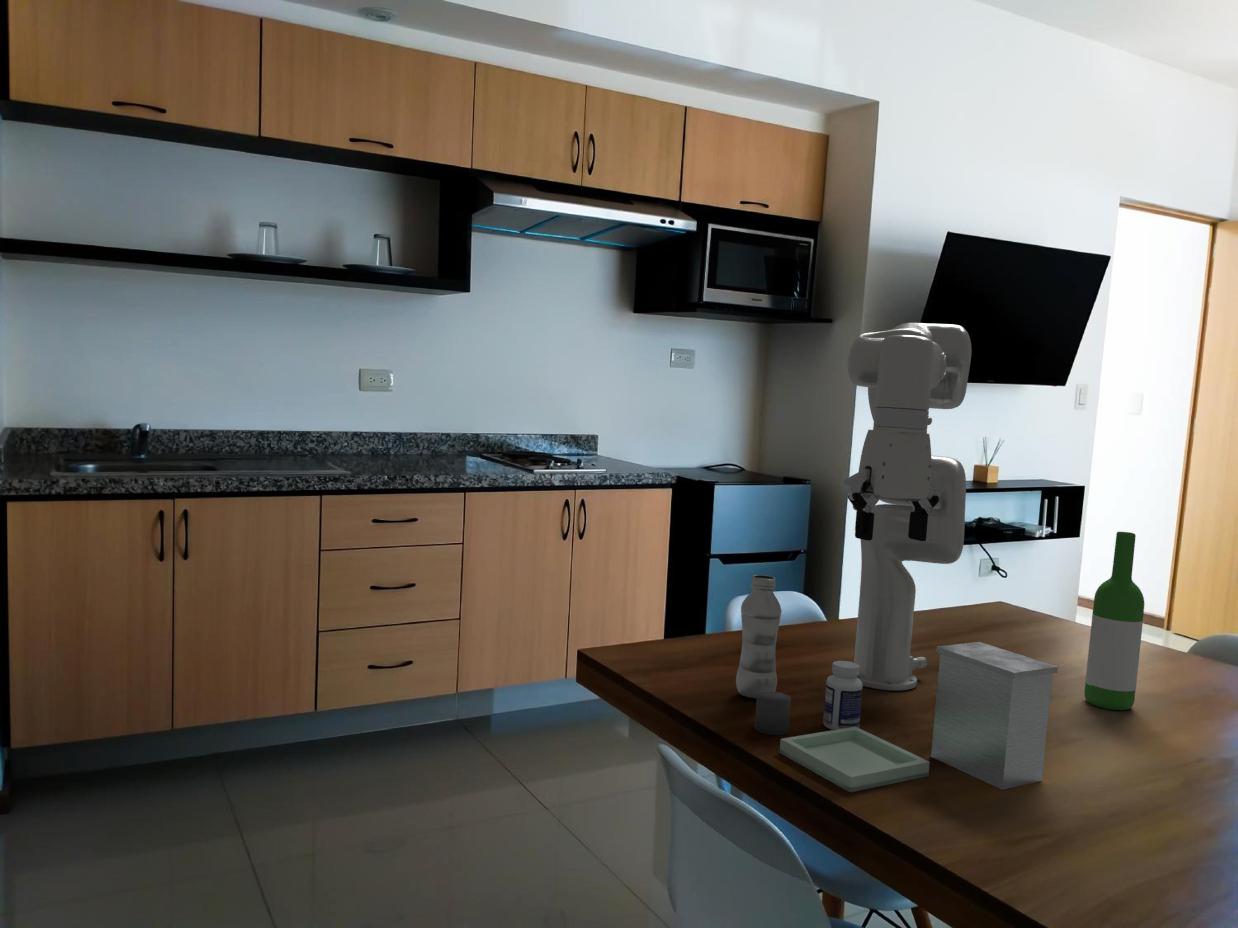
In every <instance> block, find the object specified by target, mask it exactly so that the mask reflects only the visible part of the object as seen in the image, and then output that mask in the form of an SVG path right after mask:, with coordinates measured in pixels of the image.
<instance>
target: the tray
mask: <svg viewBox="0 0 1238 928" xmlns="http://www.w3.org/2000/svg"><path fill="white" fill-rule="evenodd" d="M779 754H781V755H783V756H784V757H787V758H788V759H790V760H791V761H793V762H795V763H797V764H799V765H801V766H802V767H804V768H806V769H807V770H809V771H811V772H813V773H814V774H816V775H818V776H820V777H822V778H824V779H825V780H827V781H829V782H831V783H833V784H834V785H835V786H837V787H839V788H841V789H843V790H845V791H847V792H849V793H855V792H859V791H865V790H870V789H875V788H877V787H883V786H889V785H892V784H893V785H894V784H898V783H903V782H907V781H908V782H909V781H911V780H918V779H921V778H922V779H923V778H926V777H929V772H930V763H931V761H929V760H927V759H925V758H923V757H921V756H918V755H917V754H914V753H912V752H910V751H908V750H906V749H903V748H902V747H900V746H897V745H895V744H893V743H890V742H889V741H887V740H885V739H884V738H883V739H882V738H880V737H878V736H876V735H874V734H872V733H870V732H868V731H866V730H863V728H862V729H861V728H860V727H859V728H857V727H850V728H844V729H838V730H826V731H821V732H814V733H808V734H802V735H797V736H790V737H784V738H780V742H779Z"/></svg>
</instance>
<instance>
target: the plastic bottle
mask: <svg viewBox="0 0 1238 928" xmlns="http://www.w3.org/2000/svg"><path fill="white" fill-rule="evenodd" d="M750 588H751V589H752V590H751V591H750V592H749V593H748V595H746V597H745V598H744V599H743V601H742V602H741V606H740V616H741V626H742V627H741V628H742V629H741V630H742V632H741V633H742V634H741V636H742V638H741V639H742V640H741V652H740V659H739V666H738V669H737V673H736V677H735V683H736V689H737V691H738V693H739V694H740V695H741V696H743V697H746V698H749V699H750V698H751V699H755V700H757V694H758V693H760V692H764V691H773V692H777V690H776V689H777V687H778V678H777V677H778V676H777V670H776V649H777V648H776V647H777V644H776V643H777V638H778V632H779V627H780V621H781V617H782V607H781V603H780V601H779V599H778V598H777V596H776V595H775V592H774V591H775V590H776V577H775V576H773V575H772V576H771V575H765V574H754V575H752V578H751V584H750Z"/></svg>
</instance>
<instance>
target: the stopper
mask: <svg viewBox="0 0 1238 928" xmlns="http://www.w3.org/2000/svg"><path fill="white" fill-rule="evenodd" d="M755 702H756V703H755V714H754V715H755V717H754V729H755V730H756V731H757V732H759V733H761V734H764V735H769V736H785V735H787V734H788V733H789V729H790V718H791V717H790V716H791V704H792V703H791V702H792V698H791V696H790V695H788V694H787V693H782V692H779V691H778V692H777V691H775V692H773V691H764V692H760V693H758V694H757V699H756V701H755Z"/></svg>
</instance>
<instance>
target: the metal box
mask: <svg viewBox="0 0 1238 928" xmlns="http://www.w3.org/2000/svg"><path fill="white" fill-rule="evenodd" d="M935 652H936V653H938V654H940V655H939V665H938V673H937V674H938V676H937V687H936V696H935V697H936V698H935V708H934V710H935V711H934V721H933V731H932V740H931V741H932V743H931V753H930V757H931V758H933V759H935V760H937V761H939V762H941V763H944V764H946V765H948V766H949V767H953V768H955V769H957V770H958V771H961V772H963V773H965V774H967V775H969V776H972V777H974V778H976V779H978V780H980V781H982V782H985V783H987V784H989V785H991V786H993V787H995V788H997V789H998V790H1001V791H1002V790H1007V789H1012V788H1016V787H1020V786H1026V785H1030V784H1034V783H1038V782H1042V781H1043V773H1044V764H1045V763H1044V762H1045V753H1046V742H1047V734H1048V733H1047V732H1048V723H1049V714H1050V713H1049V712H1050V703H1051V694H1052V693H1051V692H1052V684H1053V682H1052V681H1053V674H1056V673H1057V674H1058V672H1059V671H1058V669H1059V666H1057V665H1053V664H1051V663H1047V662H1044V661H1042V660H1039V659H1036V658H1032V657H1028V656H1026V655H1022V654H1020V653H1015V652H1013V651H1010V650H1007V649H1005V648H1003V649H1002V648H1001V647H997V646H993V645H991V644H988V643H984V642H981V641H977V642H976V641H974V642H965V643H956V644H955V643H954V644H948V645H939V646H938V645H937V646H936V650H935Z"/></svg>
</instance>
